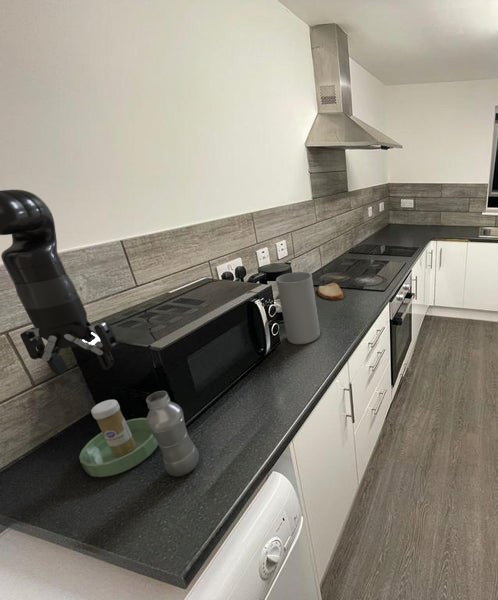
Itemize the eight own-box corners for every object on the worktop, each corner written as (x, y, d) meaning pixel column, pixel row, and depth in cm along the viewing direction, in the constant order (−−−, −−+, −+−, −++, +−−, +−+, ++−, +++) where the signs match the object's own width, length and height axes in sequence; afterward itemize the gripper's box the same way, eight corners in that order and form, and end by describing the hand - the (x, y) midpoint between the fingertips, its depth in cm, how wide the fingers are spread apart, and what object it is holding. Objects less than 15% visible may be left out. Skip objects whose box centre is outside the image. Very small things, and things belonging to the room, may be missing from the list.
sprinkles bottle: (111, 461, 74) (87, 415, 69) (115, 447, 78) (92, 403, 72) (136, 452, 76) (114, 407, 71) (138, 439, 80) (118, 396, 75)
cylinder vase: (290, 348, 119) (278, 285, 110) (285, 334, 130) (274, 275, 120) (323, 340, 124) (314, 279, 114) (316, 327, 135) (308, 270, 125)
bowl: (70, 484, 69) (62, 471, 68) (111, 435, 82) (105, 423, 81) (143, 471, 72) (137, 458, 70) (172, 425, 85) (167, 413, 83)
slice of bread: (341, 300, 160) (340, 293, 159) (308, 298, 164) (307, 291, 163) (354, 288, 176) (353, 281, 175) (324, 286, 180) (323, 280, 179)
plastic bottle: (170, 486, 68) (137, 413, 60) (166, 466, 73) (135, 395, 65) (204, 469, 72) (177, 397, 64) (198, 450, 77) (173, 382, 69)
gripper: (106, 289, 66) (133, 356, 72) (25, 296, 64) (60, 364, 70) (80, 303, 59) (112, 376, 66) (-12, 311, 57) (31, 386, 63)
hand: (85, 370), depth 68 cm, fingers open, 8 cm apart
